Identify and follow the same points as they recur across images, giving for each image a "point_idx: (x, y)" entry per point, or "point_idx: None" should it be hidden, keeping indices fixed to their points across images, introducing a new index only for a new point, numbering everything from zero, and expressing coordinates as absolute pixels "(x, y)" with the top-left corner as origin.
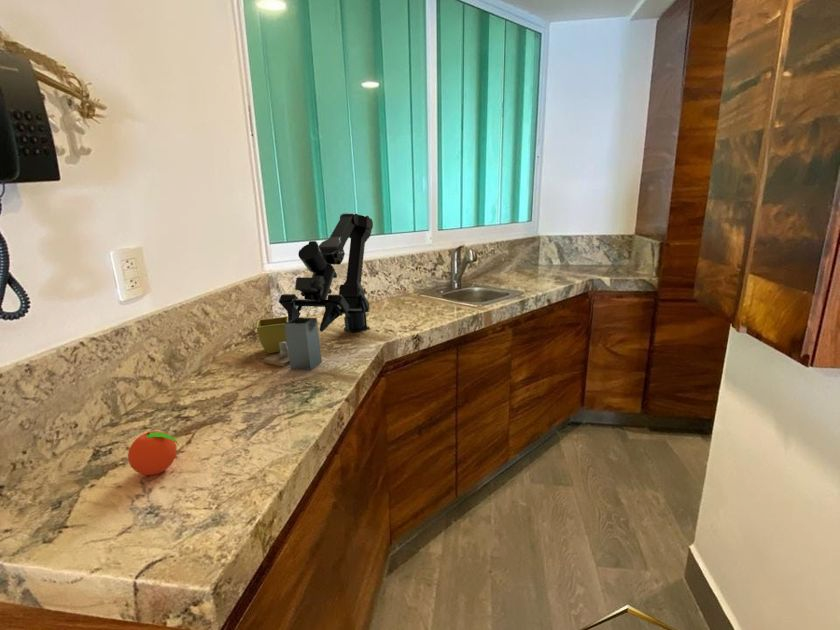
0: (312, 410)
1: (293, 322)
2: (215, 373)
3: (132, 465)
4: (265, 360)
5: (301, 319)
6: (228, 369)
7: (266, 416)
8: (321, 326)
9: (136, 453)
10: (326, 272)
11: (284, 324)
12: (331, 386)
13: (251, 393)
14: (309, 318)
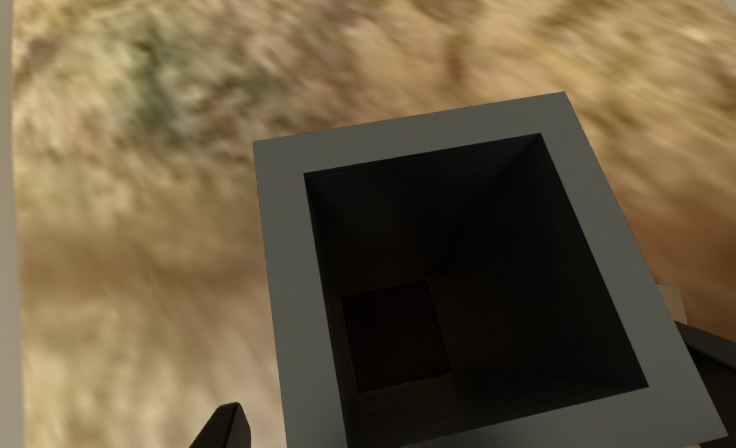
0: (90, 11)
1: (570, 250)
2: (716, 110)
3: None
4: (657, 285)
5: (566, 400)
6: (719, 159)
7: None
8: (205, 440)
9: None
10: None
11: (557, 99)
12: (111, 168)
13: (390, 33)
14: (415, 444)
